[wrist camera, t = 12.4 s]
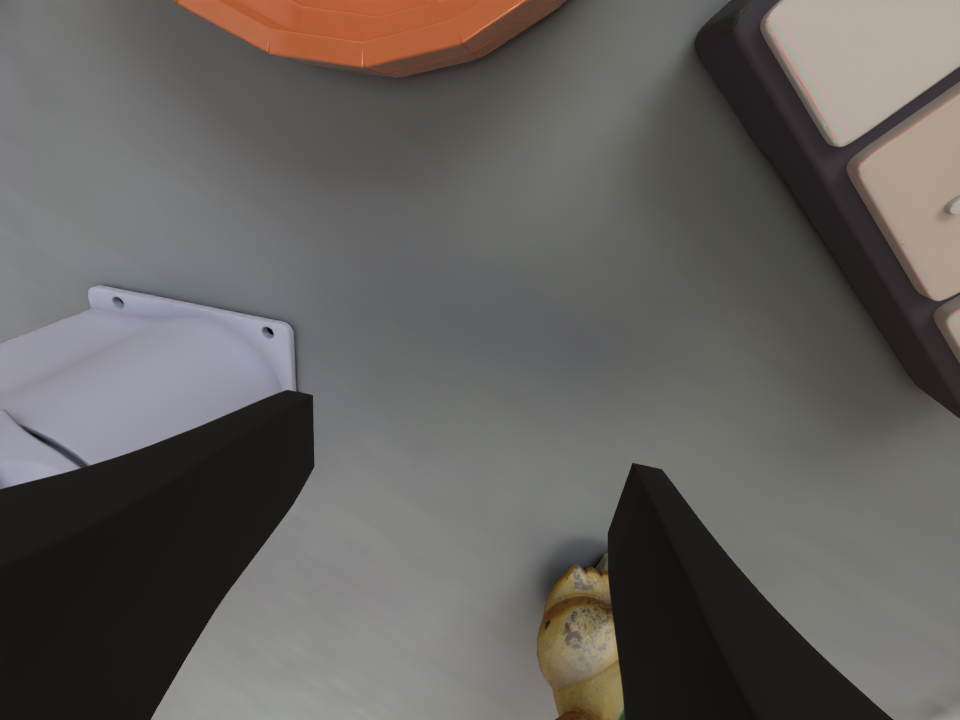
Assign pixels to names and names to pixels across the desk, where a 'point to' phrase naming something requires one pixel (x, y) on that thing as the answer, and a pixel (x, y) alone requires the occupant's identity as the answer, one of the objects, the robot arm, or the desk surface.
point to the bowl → (374, 30)
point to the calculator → (863, 149)
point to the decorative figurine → (581, 646)
